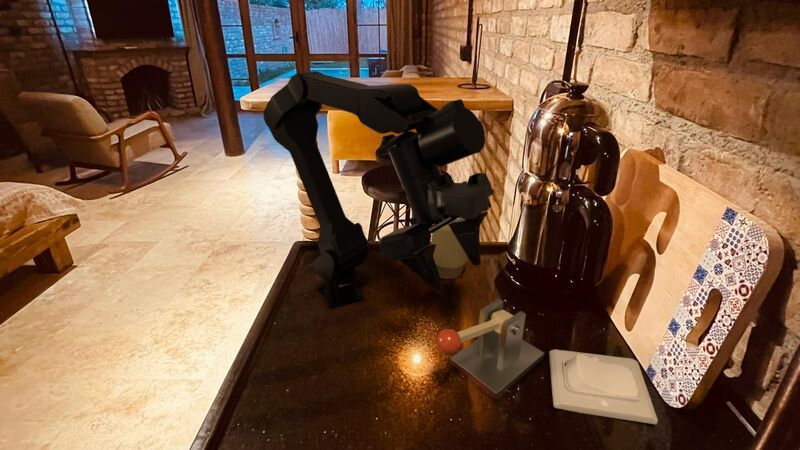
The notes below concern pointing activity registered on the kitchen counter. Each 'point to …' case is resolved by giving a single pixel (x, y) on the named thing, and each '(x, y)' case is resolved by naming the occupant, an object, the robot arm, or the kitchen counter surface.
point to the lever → (469, 332)
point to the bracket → (498, 354)
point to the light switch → (600, 386)
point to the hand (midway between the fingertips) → (460, 278)
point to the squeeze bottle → (448, 253)
